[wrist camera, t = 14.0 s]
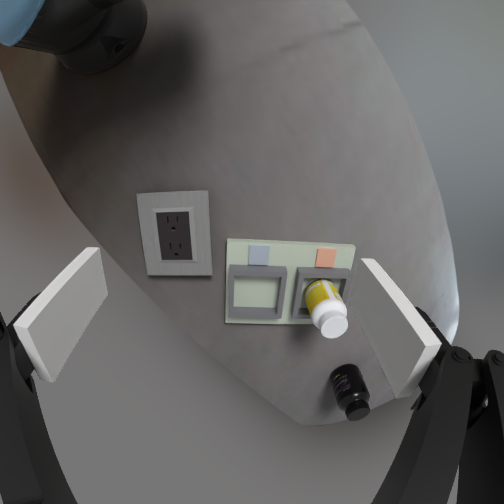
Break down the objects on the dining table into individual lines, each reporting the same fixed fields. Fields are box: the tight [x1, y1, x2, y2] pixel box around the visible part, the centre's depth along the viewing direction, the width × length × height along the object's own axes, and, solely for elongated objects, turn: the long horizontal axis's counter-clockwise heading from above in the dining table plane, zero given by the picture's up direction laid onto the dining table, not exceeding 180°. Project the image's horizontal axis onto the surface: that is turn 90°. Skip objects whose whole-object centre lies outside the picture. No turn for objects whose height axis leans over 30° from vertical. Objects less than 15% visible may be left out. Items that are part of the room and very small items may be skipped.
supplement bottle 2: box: [331, 364, 370, 421], centre depth 52 cm, size 7×7×12 cm
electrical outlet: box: [136, 190, 213, 275], centre depth 42 cm, size 13×10×2 cm
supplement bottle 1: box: [304, 278, 348, 338], centre depth 42 cm, size 5×5×10 cm
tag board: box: [225, 239, 356, 324], centre depth 46 cm, size 15×20×3 cm
